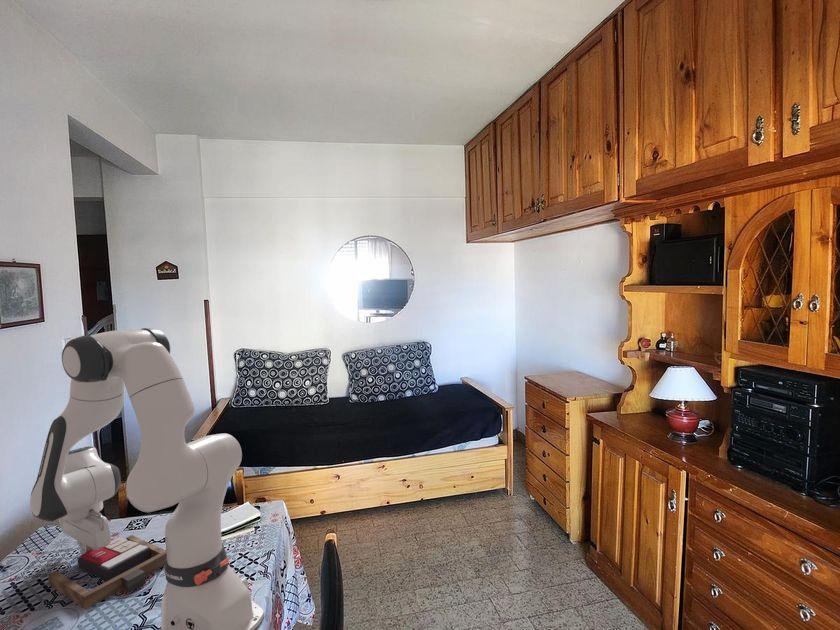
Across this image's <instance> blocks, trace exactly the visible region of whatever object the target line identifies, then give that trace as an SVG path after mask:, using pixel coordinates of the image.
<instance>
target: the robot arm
mask: <svg viewBox="0 0 840 630" xmlns="http://www.w3.org/2000/svg"><path fill="white" fill-rule="evenodd" d="M61 362H62V367H63V370H64V371H65V374H66V375H67V376H68V377H69V378H70V385H69V386H70V388H69V398H68V402H67V405H66V407H65V408H64V409H63V411H62V413H61V414H60V415H58V417H56V418H55V419H53V421H52V422H51V425H50V427H49V431H48V433H47V436H46V441H45V444H44V447H43V448H44V449H43V453H42V456H41V462H40V464H39V470H38V472H37V476H36V481H35V483H34V485H33V487H32V490H31V492H30V499H29V507H30V510H31V511H30V512H31V514H32V515H33V517H35V518H37V519H39V520H42V521H47V522H54V521H57V520H58V522H59V526H60V527H59V528H60V530H61V532H62V533H63V534H64V535H66V536H68V537H69V538H72V539H74V540H76V541H77V545H78V547H79V550H80V556H81V555H83V554H85V553H87V552H89V551H91V550H93V549H95V550H99V549H101V548H103V547H105V546H107V545H109V544H110V542H111V541H112V538H111V529H110V524H109V520H108V518H107V517H106V516H104V515H103V514H102V513H101V511H102V510H103V508H104V502H105V501H106V500H109V499H111V498H113V497H115V495H116V494H118V491H119V489H120V487H121V485H122V479H121V478H122V477H121V471H120V469H119V467H117V466H116V465H114V464H112V463H109V462H106V461H103V460H102V459H101V458H100V457H99V454H98V449H97V448H96V447H94V446H89V445H88V446H84V447H78V448H76V449H72V448H73V447H74V446H76V444H78V443H79V442H80V441H81V440H83V439H84V438H86V437H87V436H90V435H91V434H93V433H95V432H96V431H98V430H100V429H103V428H105V427H106V426H107V425H109V424H110V423H111V422H113V421H114V420H115V419H116V418H117V417H118V416H119V415H120V413H121V412H122V410H123V405H124V399H125V389H126V393H127V395H128V398H129V401H130V403H131V407H132V409H133V412H134V414H135V417H136V420H137V424H138V427H139V432H140V449H139V454H138V458H137V459H136V462H135V465H134V466H133V468H132V469H131V471H130V472H129V473H128V476H127V479H126V484H125V491H126V497H127V499H128V501H129V502H130V504H131V505H132V506H133V507H134V508H135V509H137V510H138V511H141V512H144V513H151V512H156V511H157V512H158V511H160V510H163V509H166V508H170V507H173V506H175V505H177V504H178V505H177V506H176V508H175V509H174V511H173V512H172V514H171V515H170V516H169V518H168V520H167V522H166V524H165V526H164V527H165V528H164V536H165V538H164V539H165V540H164V541H165V550H166V554H167V558H166V561H165V566H164V574H165V580H166V581H167V582H166V584H165V585H166V586H165V589H164V593H163V595H162V598H161V612H160V613H161V618H160V620H161V621H160V622H161V623H160V624H161V625H160V629H159V630H256V628H258V627H259V625H260V624H261V622H262V621H263V619H264V617H265V611H264V609H263V608H262V607H260V605H258V604H257V603H256V602H255V601H254V600H253V599H252V597H251V593H250V590H249V588H248V587H249V581H248V578H247V577H241V578H240V577H239V576H238V574H237V573H236V571H235V568H233V567H231V565H229V563H230V562H231V560H230V559H231V557H230V556H227V551H226V549H225V547H224V544H223V540H222V539H223V538H222V511H223V510H222V509H223V504H224V500H225V496H226V493H227V491H228V487H229V485H230V483H231V480H232V478H233V476H234V474H235V472H236V471H237V469H238V468H239V467H240V465H241V462H242V458H243V452H242V447H241V445H240V443H239V441H238V440H237V438H235V437H234V436H233V435H231V434H229V433H226V432H225V433H216V434H215V433H214V434H210V435H205V436H202V437H200V438H197V439H195V440H193V441H190V442H186V438H185V429H186V426H187V425H188V423H189V422H190V421H191V420H192V418H193V417H194V414H195V404H194V402H193V400H192V398H191V395H190V392H189V390H188V388H187V387H188V386H187V385H186V383H185V380H184V377H183V376H182V373H181V371H180V370H179V367H178V365H177V363H176V361H175V360H174V358H173V357H172V355H171V345H170V341H169V339H168V337H167V336H166V334H165V333H164V332H163V331H161V330H159V329H157V328H151V327H150V328H148V327H146V328H145V327H143V328H141V329H123V330H118V329H117V330H116V329H115V330H110V331H109V330H108V331H104V332H100V333H95V334H91V335H89V334H86V335H81V336H79V337H75V338H73V339H70V340H69V341H67V343H66V344H65V345H64V347H63V349H62V353H61Z"/></svg>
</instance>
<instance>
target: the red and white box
mask: <svg viewBox="0 0 840 630" xmlns="http://www.w3.org/2000/svg"><path fill="white" fill-rule="evenodd" d="M150 558H151V550H150V547H147V546H144V545H140V544H139V543H136V542H133V541H128V540H126V538H123V537H116V538H114V539H111V542H110V544H109V545H107V546H105V547H103V548H101V549H99V550H95V549H93V550H91V551H89V552H87V553H85V554H83V555H81V554H80V555H79V557H77V566H78V567H77V568H78V570H80V571H83V572H84V573H88V574H89V575H92V576H95V577H97V578H99V580H100V581H102V582H103V583H105V582H107V581H109V580H111V579H113V578H114V577H116V576H118V575H120V574H122V573H124V572H126V571H128V570H130V569H131V568H133V567H135V566H137V565H139V564H141V563H143V562H145V561H147V560H149V559H150Z"/></svg>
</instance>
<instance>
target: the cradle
mask: <svg viewBox="0 0 840 630" xmlns="http://www.w3.org/2000/svg"><path fill="white" fill-rule="evenodd" d="M125 539H126V540H128V541H133V542H136V543H139V544H140V545H144V546H147V547H150V550H151V558H150V559H149V560H147V561H145V562H143V563H141V564H139V565H137V566H135V567H133V568H131V569H130V570H128V571H126V572H124V573H122V574H120V575H118V576H116V577H114V578H113V579H111V580H109V581H107V582H103V583H101V584H100V585H98V586H96V587H94V588H92V589H90V590H88V589H86V588H84V587H83V586H81V585H79V584H78V583H76V582H75V581H73V580H71V579H69V578H68V577H66V576H65V575H63V574H62V573H60V572H59V571H56V570H53V571H52V572H50V573H48V583H49V587H52V588H53V590H55V591H57V592H58V593H60V594H62V595H63V596H65V597H66V598H68V599H69V600H71V601H72V602H74V603H76V604H77V605H78V606H80V607H81V608H83V609H84V610H87V609H89V608H91V607H93V606H95V605H96V604H98V603H100V602H101V601H104V600H106V599H107V598H109V597H110V596H112V595H114V594H116V593H118V592H120V591H122V590H124V591H126V593H131V592H133V591H135V590H136V589H139V588H140V587H141V586H143V585H145V584H146V577H147V576H148V575H150V574H152V573H154V572H155V571H157V570H159V569H161V568H162V567H165V561H166V558H167V554H166V549H164V548H162V547H159V546H157V545H155V544H153V543H150V542H148V541H146V540H143V539H141V538H139V537H137V536H136V535H135V536H134V535H133V534H131V535H128V536H126V537H125Z"/></svg>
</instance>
